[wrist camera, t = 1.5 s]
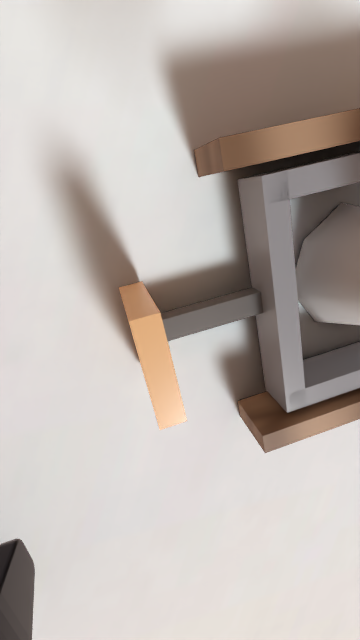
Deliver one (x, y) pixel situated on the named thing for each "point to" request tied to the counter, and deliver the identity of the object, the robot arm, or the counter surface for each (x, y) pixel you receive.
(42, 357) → the counter surface
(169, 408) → the sliding frame
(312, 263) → the flask
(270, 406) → the lane rails
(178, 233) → the counter surface
